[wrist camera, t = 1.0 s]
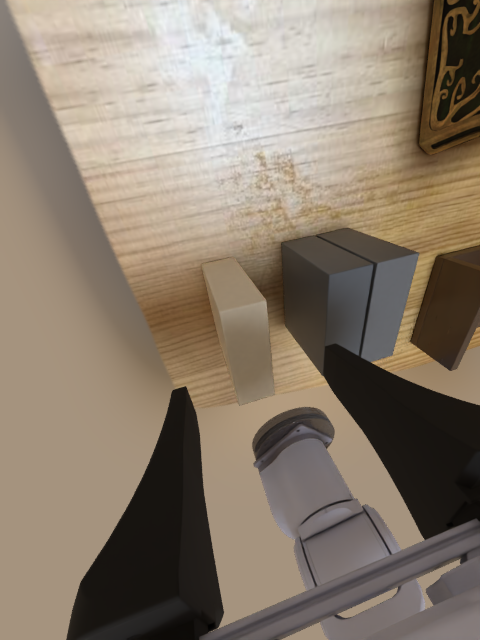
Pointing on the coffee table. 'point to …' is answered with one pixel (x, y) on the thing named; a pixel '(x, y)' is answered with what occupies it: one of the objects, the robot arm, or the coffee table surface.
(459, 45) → the decorative box
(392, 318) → the grey books
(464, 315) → the book rack
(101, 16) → the coffee table surface
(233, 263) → the cream book
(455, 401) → the robot arm
